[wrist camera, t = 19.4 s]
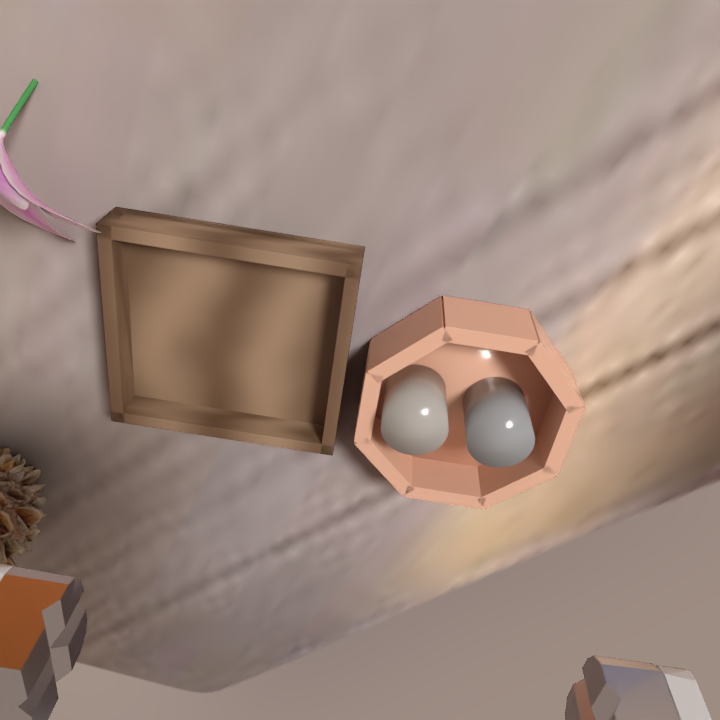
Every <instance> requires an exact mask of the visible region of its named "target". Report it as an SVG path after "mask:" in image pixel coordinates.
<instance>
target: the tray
mask: <svg viewBox="0 0 720 720" xmlns="http://www.w3.org/2000/svg"><path fill="white" fill-rule="evenodd" d="M96 230H97V231H99V232H101V233H98V232H97V243H98V256H99V268H100V281H101V293H102V306H103V318H104V331H105V343H106V356H107V368H108V381H109V394H110V406H111V419H112V421H115V422H122V423H128V424H135V425H141V426H147V427H154V428H160V429H167V430H173V431H179V432H186V433H192V434H198V435H205V436H211V437H218V438H224V439H230V440H237V441H243V442H250V443H256V444H262V445H269V446H275V447H281V448H288V449H294V450H301V451H307V452H313V453H320V454H326V455H333V450H334V444H335V438H336V432H337V425H338V419H339V412H340V406H341V399H342V393H343V386H344V380H345V373H346V367H347V360H348V354H349V348H350V341H351V335H352V328H353V322H354V315H355V309H356V302H357V296H358V289H359V283H360V276H361V270H362V263H363V257H364V250H365V247H363V246H357V245H351V244H345V243H338V242H332V241H326V240H320V239H313V238H307V237H301V236H295V235H289V234H282V233H276V232H270V231H264V230H257V229H251V228H245V227H239V226H232V225H226V224H220V223H214V222H208V221H201V220H195V219H189V218H183V217H176V216H170V215H164V214H158V213H152V212H145V211H139V210H133V209H127V208H120V207H115V208H114V209H113V210H112V211H110V212H109V213H108V214H107V215H106V216H104V217H103V218H102V219H101V220H100V221H98V222H97V223H96Z"/></svg>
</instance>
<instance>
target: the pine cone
mask: <svg viewBox="0 0 720 720" xmlns="http://www.w3.org/2000/svg"><path fill="white" fill-rule="evenodd" d="M9 453H10V449H9V448H5V449H1V448H0V564H4V565H10V566H15V557H14V556H15V555H22V554H23V553H24V552H25V551H32V550H31V547H30V544H29V542H28V541H32V540H31V539H32V538H34V537H35V536H36V535H37V534H39V533H40V532H41V531H39V530H38V529H37V524H36V523H39V521H40V520H41V518H43V517H45V516H48V515H46V514H44V513H43V512H42V511H40V510H38V509H39V508H41V507H42V506H44V505H45V502H46V499H47V498H46V497H43V496H41V495H39V492H40V490H41V489H42V488H43V487H44V486H45V485H46V484H38V485H34V484H33V483H34V481H35V480H36V479H37V478H38V477H39V475H40V473H41V471H40V470H39V469H37V470H32V468H33V467H34V466H31V467H23V466H24V465H25V463H26V462H25V459H24V458H23V459H22V460H21V461H20V454H18V455H17V456H15V457H12V456H11V454H9Z"/></svg>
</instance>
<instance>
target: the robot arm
mask: <svg viewBox="0 0 720 720" xmlns="http://www.w3.org/2000/svg"><path fill="white" fill-rule="evenodd" d="M83 592H84V591H83V585H82V580H81V578H79V577H74V576H68V575H62V574H56V573H50V572H44V571H38V570H32V569H27V568H21V567H16V566H10V565H4V564H0V720H48V719H49V716H50V714H51V712H52V710H53V708H54V706H55V704H56V702H57V700H58V693H57V687H56V682H57V681H58V680H60V679H61V678H62V677H64V676H65V675H66V674H68V673H69V672H70V671H72V669H73V667H74V665H75V662H76V660H77V658H78V656H79V654H80V651H81V648H82V644H83V641H84V638H85V634H86V626H87V614H86V609H85V608H84V607H83V606H82V605H81V604H80V603H79V602H78V601H79V600H80V598H81V596H82V594H83ZM582 669H583V673H584V678H585V679H583V680H581V681H579V682H577V683H575V684H573V686H572V688H571V690H570V692H569V695H568V697H567V703H566V712H565V719H566V720H712V719H711V717H710V714H709V712H708V709H707V707H706V704H705V702H704V699H703V697H702V694H701V692H700V689H699V687H698V684H697V682H696V680H695V677H694V676H693V675H692V674H691V673H690V671H689V670H685V669H680V668H674V667H666V666H658V665H654V664H652V663H645V662H638V661H631V660H623V659H616V658H609V657H601V656H592V657H590V658H588V659H587V661H586V662H585V664H584V666H583V668H582Z"/></svg>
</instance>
